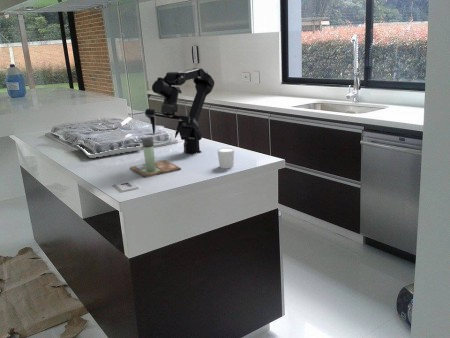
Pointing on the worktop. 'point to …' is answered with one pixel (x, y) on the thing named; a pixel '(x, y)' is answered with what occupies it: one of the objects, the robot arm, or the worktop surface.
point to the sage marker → (149, 154)
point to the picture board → (160, 168)
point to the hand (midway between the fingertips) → (164, 136)
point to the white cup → (226, 157)
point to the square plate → (112, 151)
